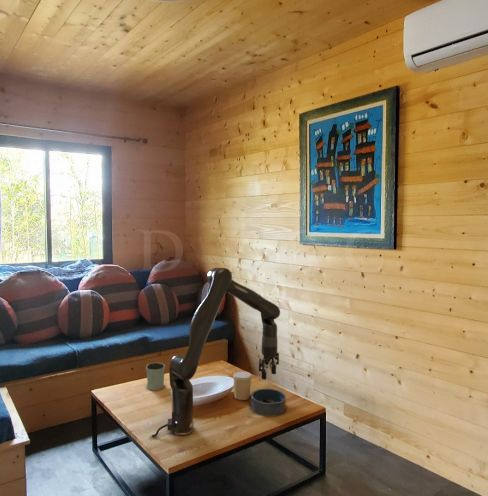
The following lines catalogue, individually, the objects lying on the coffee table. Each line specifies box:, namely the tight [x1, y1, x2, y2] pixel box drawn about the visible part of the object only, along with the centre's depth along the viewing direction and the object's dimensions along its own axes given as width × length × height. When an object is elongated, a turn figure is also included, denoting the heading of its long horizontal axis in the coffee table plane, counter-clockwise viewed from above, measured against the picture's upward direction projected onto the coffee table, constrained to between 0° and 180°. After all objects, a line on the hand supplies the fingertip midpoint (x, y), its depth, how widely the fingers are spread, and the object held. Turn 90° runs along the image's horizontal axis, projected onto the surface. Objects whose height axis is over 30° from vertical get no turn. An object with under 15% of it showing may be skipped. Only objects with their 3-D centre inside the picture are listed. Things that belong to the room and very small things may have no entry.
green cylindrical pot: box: [145, 361, 166, 391], centre depth 230 cm, size 10×10×12 cm
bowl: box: [250, 388, 287, 417], centre depth 208 cm, size 17×17×6 cm
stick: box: [263, 398, 276, 403], centre depth 209 cm, size 9×2×2 cm
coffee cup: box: [232, 370, 252, 401], centre depth 219 cm, size 9×9×12 cm
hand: (268, 376), depth 206 cm, fingers open, 8 cm apart
